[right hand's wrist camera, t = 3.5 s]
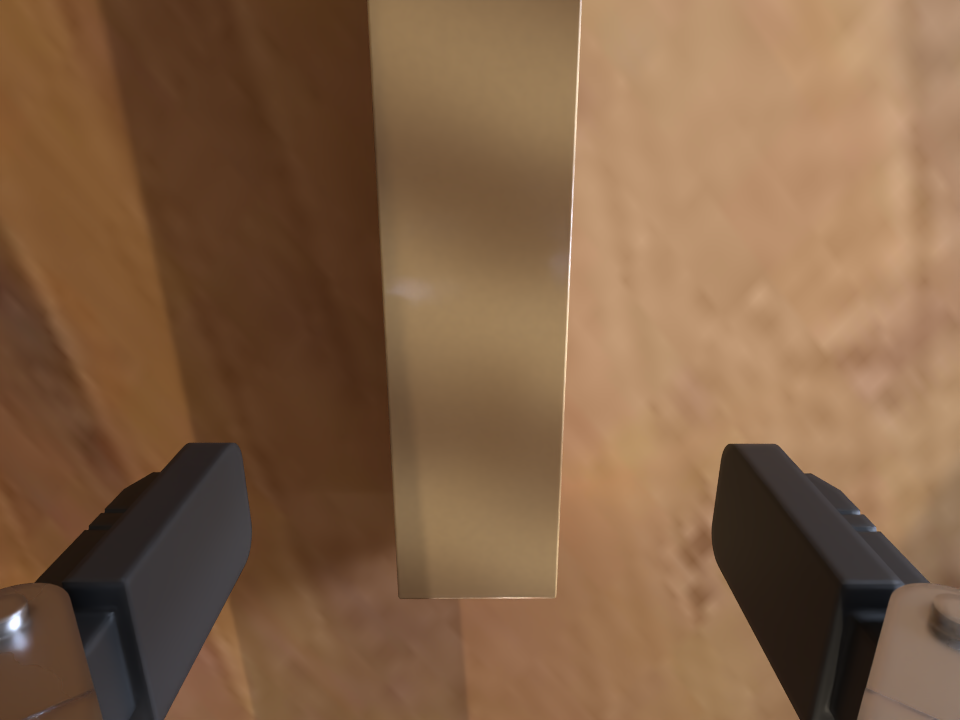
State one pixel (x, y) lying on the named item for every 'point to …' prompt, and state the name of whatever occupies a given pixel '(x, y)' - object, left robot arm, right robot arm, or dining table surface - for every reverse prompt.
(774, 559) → the right robot arm
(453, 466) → the bar
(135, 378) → the dining table surface
